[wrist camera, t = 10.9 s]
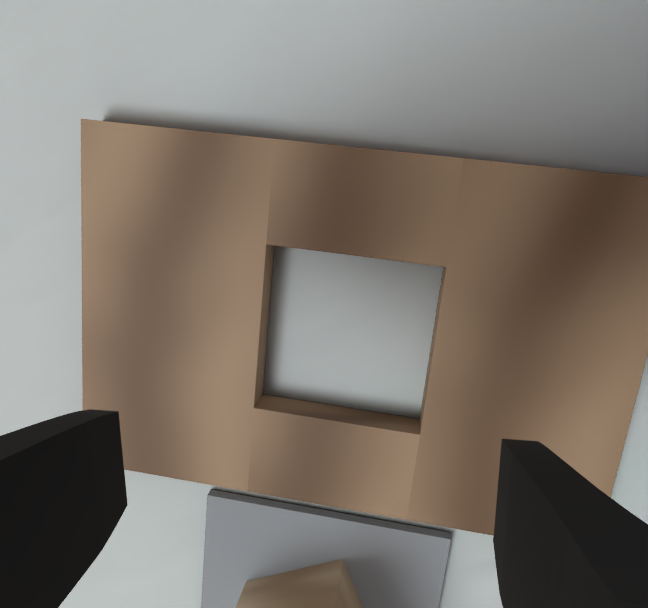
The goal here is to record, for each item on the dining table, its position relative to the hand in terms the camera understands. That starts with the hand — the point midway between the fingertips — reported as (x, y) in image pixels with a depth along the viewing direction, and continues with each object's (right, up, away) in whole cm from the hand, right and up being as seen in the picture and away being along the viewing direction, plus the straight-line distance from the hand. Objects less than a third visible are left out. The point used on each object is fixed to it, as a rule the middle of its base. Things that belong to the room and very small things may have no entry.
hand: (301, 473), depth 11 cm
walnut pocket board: (+1, +2, +9) cm, 9 cm away
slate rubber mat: (0, -9, +12) cm, 15 cm away
